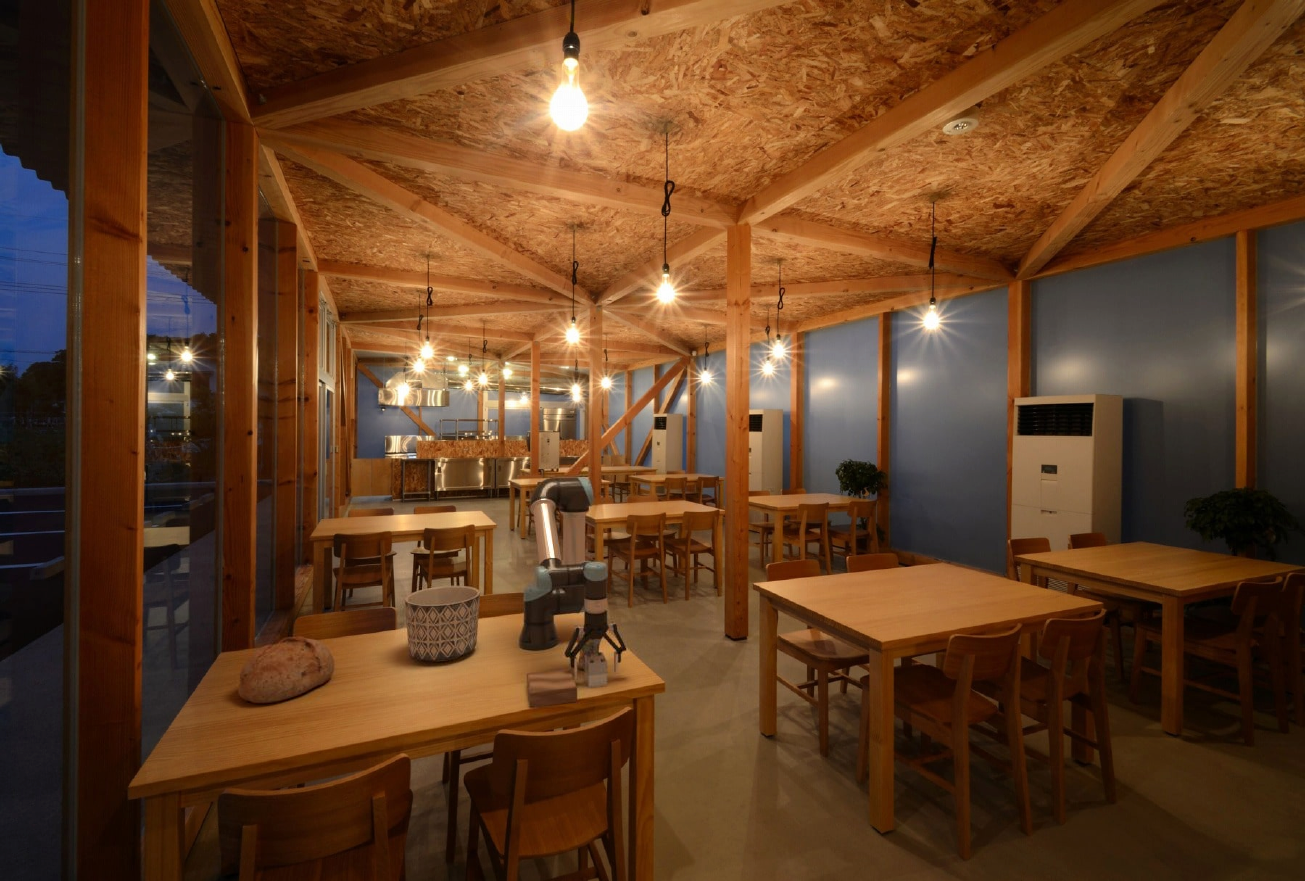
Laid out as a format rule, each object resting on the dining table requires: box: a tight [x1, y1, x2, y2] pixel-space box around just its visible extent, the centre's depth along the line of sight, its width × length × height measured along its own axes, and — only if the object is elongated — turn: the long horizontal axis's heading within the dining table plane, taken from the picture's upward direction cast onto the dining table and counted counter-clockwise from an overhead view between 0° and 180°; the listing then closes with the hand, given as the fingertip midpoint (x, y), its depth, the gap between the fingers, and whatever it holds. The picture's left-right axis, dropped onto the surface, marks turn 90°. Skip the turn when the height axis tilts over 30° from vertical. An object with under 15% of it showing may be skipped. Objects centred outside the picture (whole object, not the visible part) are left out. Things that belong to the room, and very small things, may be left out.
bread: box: [237, 636, 336, 704], centre depth 178 cm, size 26×23×15 cm
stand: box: [526, 668, 578, 709], centre depth 174 cm, size 15×14×4 cm
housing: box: [584, 651, 608, 689], centre depth 182 cm, size 8×6×8 cm
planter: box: [404, 585, 481, 663], centre depth 205 cm, size 26×26×22 cm
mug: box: [576, 631, 603, 670], centre depth 196 cm, size 12×9×11 cm
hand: (595, 675), depth 182 cm, fingers open, 13 cm apart
